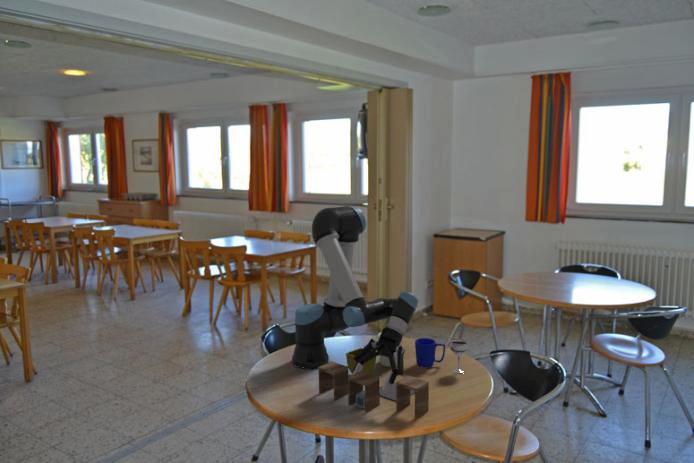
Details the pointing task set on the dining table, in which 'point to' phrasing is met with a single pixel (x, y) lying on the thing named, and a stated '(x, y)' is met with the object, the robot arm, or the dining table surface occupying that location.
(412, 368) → the dining table surface
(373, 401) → the cover middle
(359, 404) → the cube
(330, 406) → the dining table surface
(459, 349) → the wineglass
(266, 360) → the dining table surface
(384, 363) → the candle holder
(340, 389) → the cover left
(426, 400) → the cover right
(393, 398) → the mat
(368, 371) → the flower pot
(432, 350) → the mug
